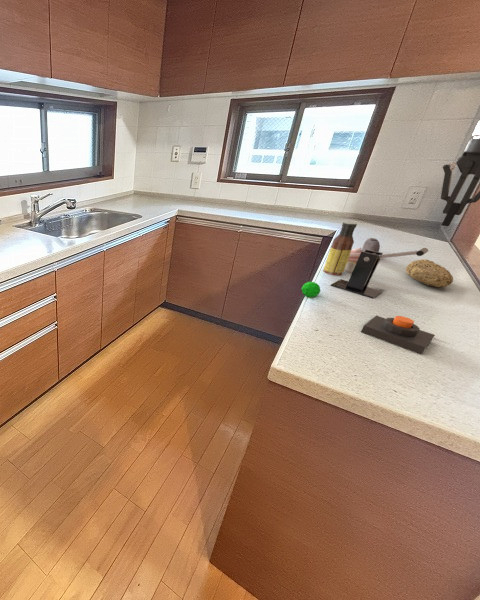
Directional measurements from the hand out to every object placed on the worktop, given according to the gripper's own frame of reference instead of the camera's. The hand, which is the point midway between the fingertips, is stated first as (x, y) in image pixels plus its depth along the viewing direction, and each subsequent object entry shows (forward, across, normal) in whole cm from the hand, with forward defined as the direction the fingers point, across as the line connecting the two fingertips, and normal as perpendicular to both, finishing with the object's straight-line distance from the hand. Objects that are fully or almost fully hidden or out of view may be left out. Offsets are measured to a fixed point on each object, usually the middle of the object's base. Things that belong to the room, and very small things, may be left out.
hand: (445, 225), depth 98 cm
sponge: (+24, 0, -24) cm, 34 cm away
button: (+20, -4, +38) cm, 43 cm away
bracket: (+24, +12, +10) cm, 28 cm away
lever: (+11, +6, +10) cm, 16 cm away
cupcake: (+24, +19, -10) cm, 32 cm away
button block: (+24, -4, +38) cm, 45 cm away
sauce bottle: (+24, +23, -1) cm, 33 cm away
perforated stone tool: (+24, +21, -43) cm, 54 cm away
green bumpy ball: (+24, +20, +29) cm, 42 cm away
